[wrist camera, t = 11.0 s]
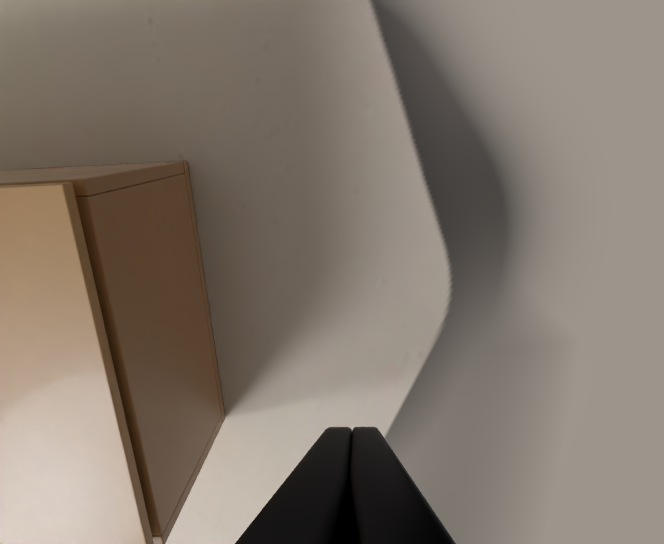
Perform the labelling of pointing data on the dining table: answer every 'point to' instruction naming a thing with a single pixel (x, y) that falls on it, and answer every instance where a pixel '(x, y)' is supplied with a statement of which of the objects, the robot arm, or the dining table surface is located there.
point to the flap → (59, 385)
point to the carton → (151, 318)
